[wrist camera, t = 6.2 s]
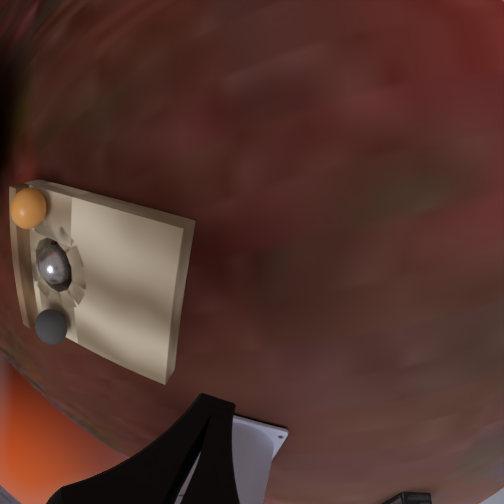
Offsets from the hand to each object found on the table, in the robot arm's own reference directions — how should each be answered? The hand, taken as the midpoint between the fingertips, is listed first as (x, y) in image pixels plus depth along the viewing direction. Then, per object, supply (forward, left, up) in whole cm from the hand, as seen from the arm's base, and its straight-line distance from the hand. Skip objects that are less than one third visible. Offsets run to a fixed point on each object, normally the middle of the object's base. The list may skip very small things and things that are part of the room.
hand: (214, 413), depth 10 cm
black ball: (-7, +16, -6) cm, 18 cm away
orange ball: (+3, +17, -6) cm, 19 cm away
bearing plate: (-3, +13, -10) cm, 16 cm away
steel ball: (-2, +16, -8) cm, 18 cm away
